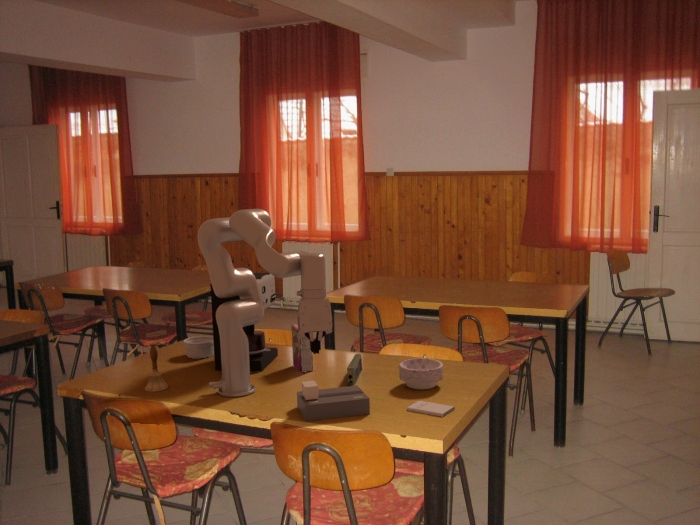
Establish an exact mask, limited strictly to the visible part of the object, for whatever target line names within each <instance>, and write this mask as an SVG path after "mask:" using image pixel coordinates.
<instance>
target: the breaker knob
mask: <svg viewBox="0 0 700 525" xmlns="http://www.w3.org/2000/svg"><path fill="white" fill-rule="evenodd" d="M318 390H319V385H318V383H317V382H316V381H315V380H307V381H301V391H302V395H303V397H304V398H305V400H311V399H319V397H318Z"/></svg>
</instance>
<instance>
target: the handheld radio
mask: <svg viewBox="0 0 700 525" xmlns="http://www.w3.org/2000/svg"><path fill="white" fill-rule="evenodd" d="M362 361H363V360H362V353H355V354H354V355H353V358H352V359H351V361H350V362H349V364H348V366H347V368H346V372H347V384H346V387H348V386H356V385H355V384H357V381H358V380H359V377H360V376H361V374H362V372H361V371H363V362H362Z"/></svg>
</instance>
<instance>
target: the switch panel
mask: <svg viewBox="0 0 700 525" xmlns="http://www.w3.org/2000/svg"><path fill="white" fill-rule="evenodd" d="M318 397H319V399H311V400H305V398H304V397H303V395H302V390H301V391H296V404H297V405H296V406H297V409H298V412H300V414H301V416H302V418H303V419H304V421H305V422H313V421H321V420H331V419H332V420H333V419H339V418H347V417H356V416H365V415H371V410H370V408H371V407H370V406H371V404H370V397H369V396H368V395H367V394H366V393H365V391H363V389H361V387H360V386H359V385H351V386H348V387H347V386H340V387H338V386H337V387H331V388H330V387H329V388H321V389H319V388H318Z"/></svg>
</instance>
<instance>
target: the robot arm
mask: <svg viewBox="0 0 700 525" xmlns="http://www.w3.org/2000/svg"><path fill="white" fill-rule="evenodd" d="M271 218H272V217H270V214H269V212H267V211H266V210H264V209H262V208H249V209H248V208H247V209H246V208H245V209H238V210H236V211H235V212H233V213H232V214H231V216H228V217H217V218H210V219H207V220H205V221H203V222H202V224H201V225H200V227H199V228H198V230H197V244H198V246H199V250H200V252H201V255H202V256H203V257H204V260H205V263H206V268H207V272H208V275H209V279H210V282H211V283H212V287H213V290H214V293H215V294H216V296H217V297H219V298H229V297H234V296H239V297H240V299H239V300H234V301H229V302H225V303H223V304H222V305H220V306H219V307H218V309H217V311H216V321H217V325H218V329H219V335H220V347H221V364H222V371H221V377H220V379H219V380H218V381H211V382H208V388H209V389H211V388H212V389H215V390H216V389H217V391H218V392H217V393H218V394H219V395H220V396H222V397H229V398H236V397H238V398H239V397H244V396H248V395H251V394H254V392H256V386H255V385H254V384H252V383H251V372H250V363H249V343H248V338H247V336H246V334H245V332H244V331H243V328H242V327H245V326H249V325H253V324H254V325H255V324H258V323H260V322H261V321H262V320H263V319H264V316H265V310H264V307H263V302H262V299H261V295H260V291H259V287H258V284H257V280H256V278H255V276H254V274H253V273H254V272H253V271H252V270H250V269H249V268H246V267H237V268H235V267H234V264H233V261H232V257H231V255H230V254H229V252H228V250H227V249H226V248H225V247H223V245H222V244H225V243H233V242H241V241H245V243H247V244H248V245H249V246H251V247H252V249H254V251H255V252H254V253H255V257H256V259H257V260H256V261H257V262H258V263H259V265H260V267H261V268H263V269H264V270H265V271H266V272H267V273H270V274H272V275H273V276H274V277H275V278H278V279H285V278H291V277H298V276H300V284H301V285H300V290H298V291H296V296H299V297H301V298H299V301H298V305H297V306H298V308H297V324H298V335H300V336H306V337H307V338H308V339H309V340H310V350H311V351H312V354H314V355H316V354H317V355H319V354H320V351H321V348H322V347H321V346H322V343H321V341H322V340H323V338H324V337H325V336H326V335H328V334H332V332H333V316H332V314H333V313H332V306H331V301H330V298H329V297H328V296H327V286H326V285H327V284H326V283H327V281H326V279H327V278H326V276H327V275H326V257H325V255H324V254H323V253H319V252H318V253H317V252H312V253H311V252H308V251H302V250H297V251H290V252H289V251H288V252H282V253H279V252H278V251H277V250H275V249H274V248H273V246H274V244H275V242H276V238H277V234H276V232H275V230H274V229H273V228H272V227H271V226H272V219H271ZM211 283H210V284H211ZM314 333H315V334H316V335H314Z"/></svg>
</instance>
